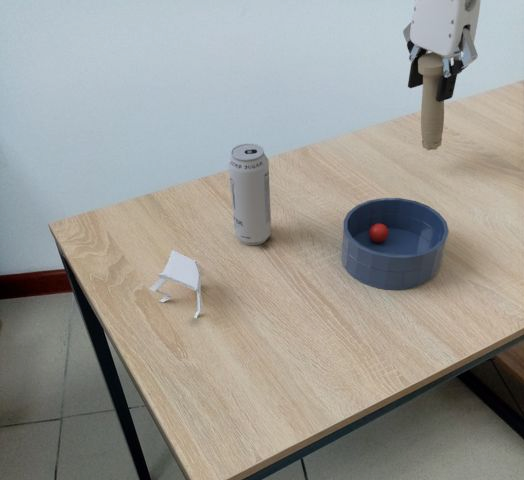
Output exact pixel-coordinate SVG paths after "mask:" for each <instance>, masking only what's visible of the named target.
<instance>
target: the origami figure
mask: <svg viewBox="0 0 524 480" xmlns="http://www.w3.org/2000/svg"><path fill="white" fill-rule="evenodd" d="M204 271H205V268H204V267H202V266H201V265H199V264H198V263H197V260H196V259H192V258H190V257H188V256H186V255H184V254H182V253H181V252H178V251H175V249H174V248H173V249H172V251H171V252H170V255H169V258H168V261H167V263H166V264H165V267H164V268H163V270H162V272H160V273H158V274H157V275H158V277H159V279H157V280H156V282H155V283H153V284H152V286H151V287H150V288H149V289H148V290H149V291H152V292H154V293H157V294H160V295H162V296H165V297H163V298H161V299H159V300H158V301H159V302H161V303H164V302H167V301H168V300H171V299H172V298H174V296H172V295H170V294H168V293H165V292H164V291H161V290H159V289H160V288H161V287H162V286H163V285H165V284H166V282H167V281H169V282H172V283H175V284H177V285H181V286H182V287H185V288H186V289H187V288H188V289H190V290H192V291H194V292H196V296H197V297H196V298H197V299H196V300H197V310H196V312H195V314H194V316H193V317H194V318H195V319H197V318H199V315H200V313H201V312H203V311H204V310H203V308H204V307H203V298H202V293H201V288H202V276H203V274H204Z"/></svg>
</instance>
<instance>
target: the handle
mask: <svg viewBox="0 0 524 480" xmlns="http://www.w3.org/2000/svg"><path fill="white" fill-rule="evenodd" d="M418 71H419V73H420V74H422V75H423V85H422V92H421V93H422V95H421V110H420V130H421V131H420V132H421V134H420V135H421V139H422V140H421V146H422V148H423V149H425V150H427V151H432V150H437V149H438V148H439V147H441V145H442V140H443V139H442V138H443V132H444V131H443V130H444V124H445V123H444V122H445V100H444V101H441V102H438V101H436V95H437V89H438V84H439V79H440V76H442V75H444V72H443V58H442V56H441V55H438V54H436V53H433V52H431V51H430V52H428V53H426V54H424V55H422V56H421V57H420V58H419V59H418Z"/></svg>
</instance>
